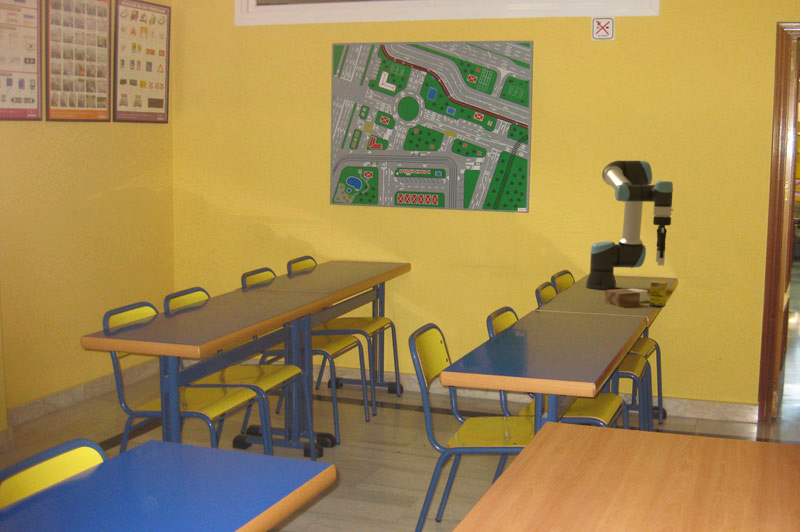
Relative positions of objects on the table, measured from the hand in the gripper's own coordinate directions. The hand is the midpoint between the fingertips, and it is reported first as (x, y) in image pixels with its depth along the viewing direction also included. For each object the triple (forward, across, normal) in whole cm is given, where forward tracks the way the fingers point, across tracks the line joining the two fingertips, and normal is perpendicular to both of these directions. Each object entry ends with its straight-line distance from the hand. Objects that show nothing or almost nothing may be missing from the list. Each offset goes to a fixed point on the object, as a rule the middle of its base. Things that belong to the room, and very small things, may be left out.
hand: (660, 263), depth 386 cm
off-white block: (+19, +13, +10) cm, 25 cm away
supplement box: (+19, 0, 0) cm, 19 cm away
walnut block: (+19, +1, +16) cm, 25 cm away
